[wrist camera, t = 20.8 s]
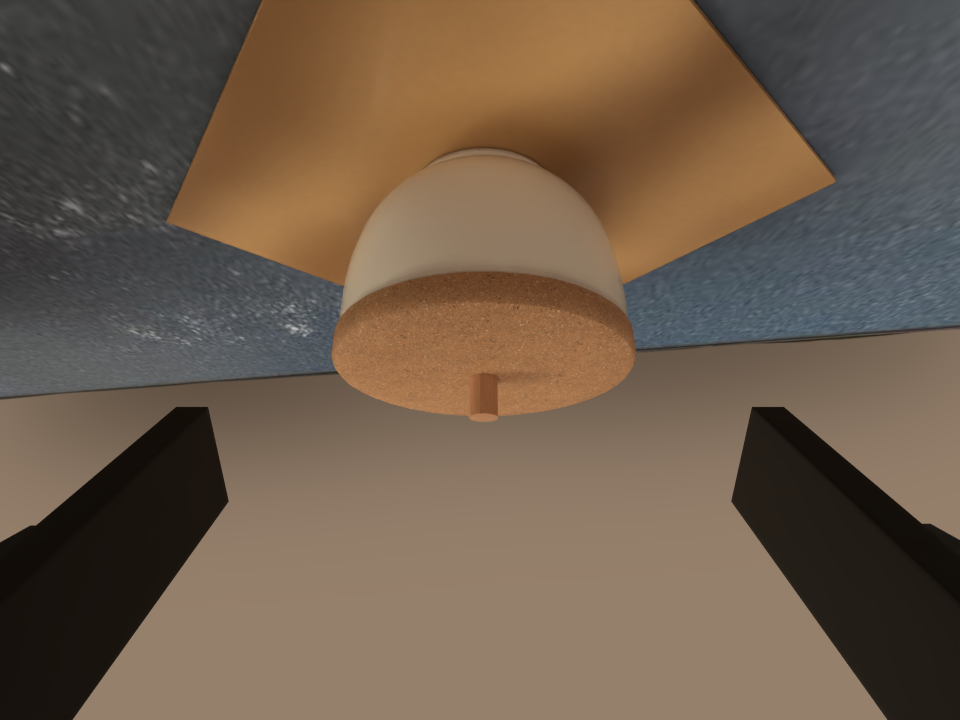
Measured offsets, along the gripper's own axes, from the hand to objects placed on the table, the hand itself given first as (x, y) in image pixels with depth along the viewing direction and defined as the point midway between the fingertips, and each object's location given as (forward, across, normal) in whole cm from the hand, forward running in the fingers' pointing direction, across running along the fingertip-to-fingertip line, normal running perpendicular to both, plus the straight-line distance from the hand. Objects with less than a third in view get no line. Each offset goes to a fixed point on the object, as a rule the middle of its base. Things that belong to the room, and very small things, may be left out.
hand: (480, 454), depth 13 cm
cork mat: (+12, 0, -5) cm, 13 cm away
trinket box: (+12, 0, -5) cm, 13 cm away
